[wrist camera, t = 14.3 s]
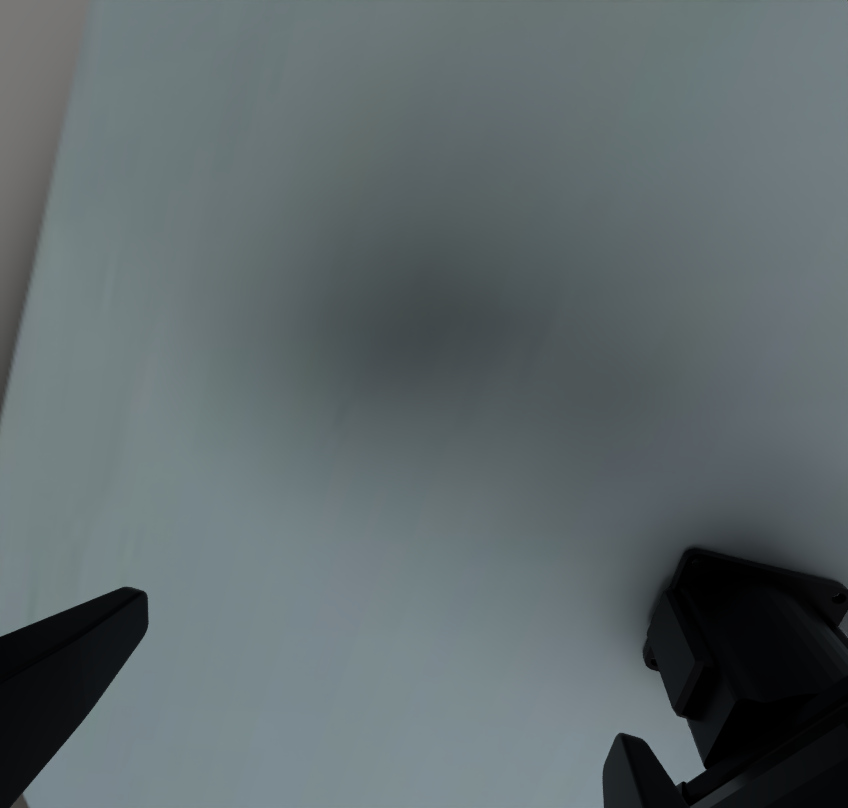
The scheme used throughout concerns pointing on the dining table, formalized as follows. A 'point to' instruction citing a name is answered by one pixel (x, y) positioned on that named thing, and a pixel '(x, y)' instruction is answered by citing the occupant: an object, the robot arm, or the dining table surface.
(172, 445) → the dining table surface
